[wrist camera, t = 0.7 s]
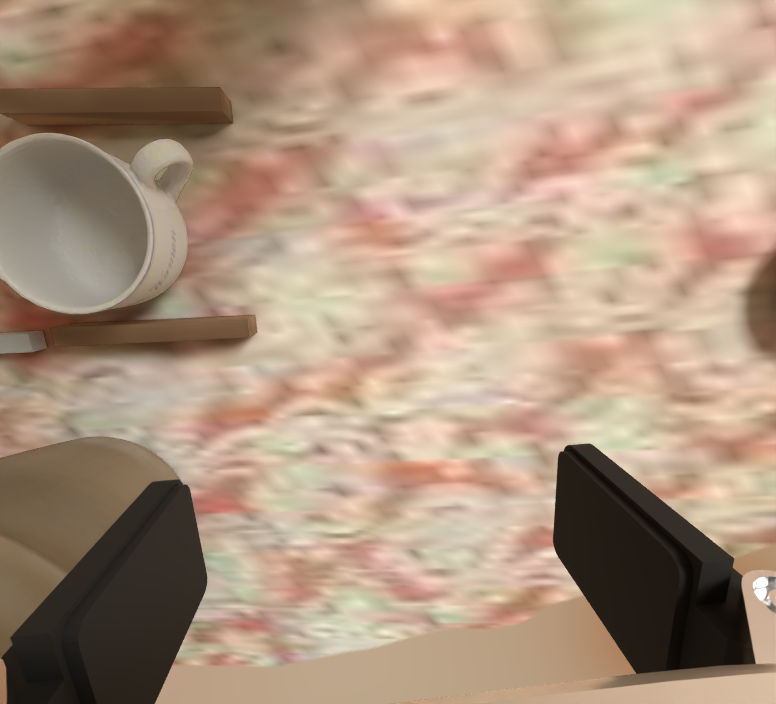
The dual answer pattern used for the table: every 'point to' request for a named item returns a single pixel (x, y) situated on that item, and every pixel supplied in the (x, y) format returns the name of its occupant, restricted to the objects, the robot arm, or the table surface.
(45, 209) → the teacup
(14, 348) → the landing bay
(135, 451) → the plant pot
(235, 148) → the table surface
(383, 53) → the table surface
